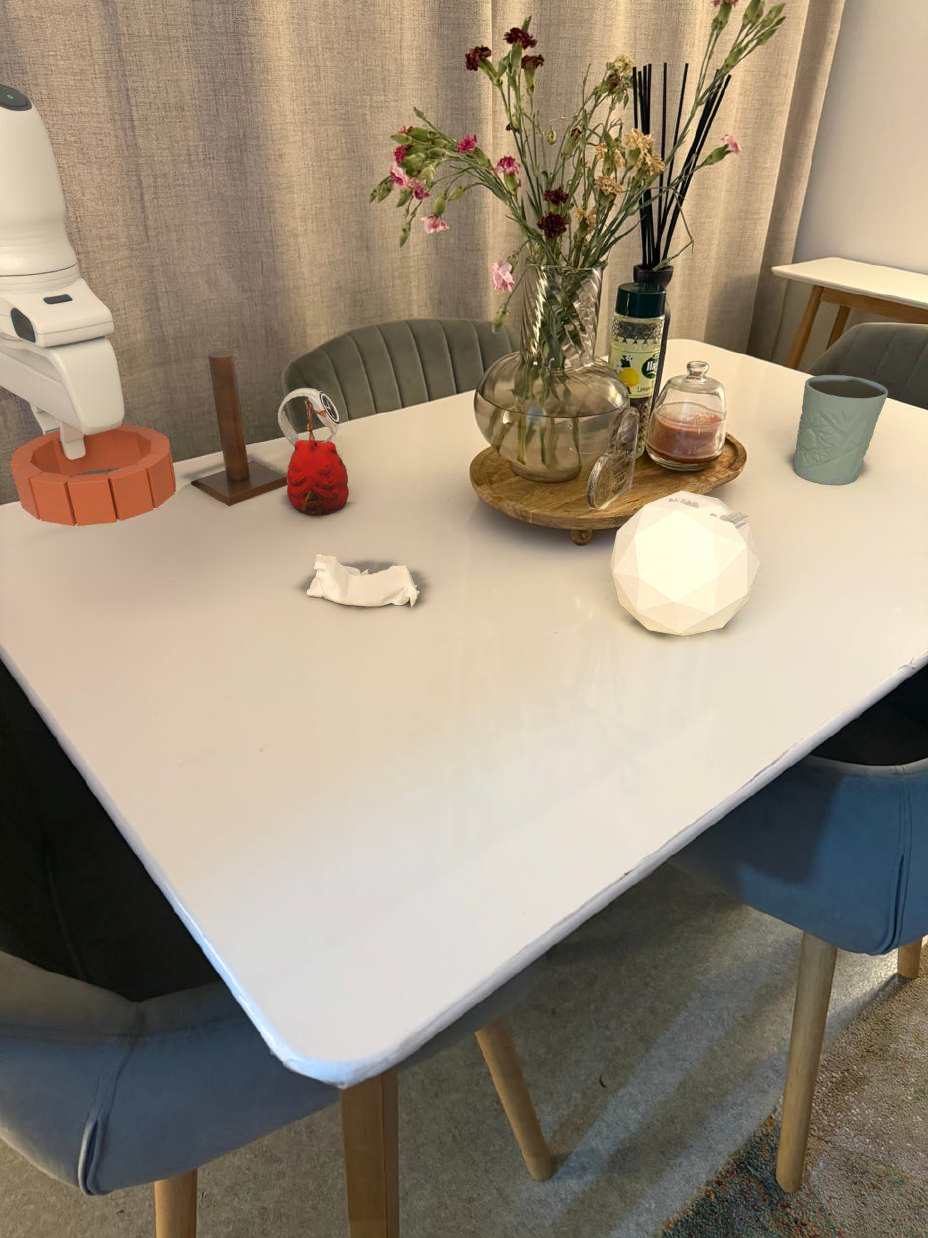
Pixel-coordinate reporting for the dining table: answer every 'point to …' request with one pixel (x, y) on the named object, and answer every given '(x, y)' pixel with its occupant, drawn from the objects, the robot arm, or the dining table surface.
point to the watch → (319, 403)
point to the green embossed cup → (836, 427)
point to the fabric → (362, 584)
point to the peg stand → (234, 442)
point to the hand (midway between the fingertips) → (66, 451)
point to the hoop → (95, 476)
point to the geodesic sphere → (684, 564)
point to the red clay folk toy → (316, 474)
